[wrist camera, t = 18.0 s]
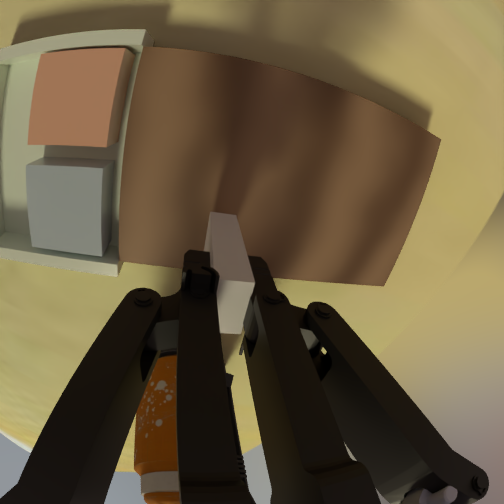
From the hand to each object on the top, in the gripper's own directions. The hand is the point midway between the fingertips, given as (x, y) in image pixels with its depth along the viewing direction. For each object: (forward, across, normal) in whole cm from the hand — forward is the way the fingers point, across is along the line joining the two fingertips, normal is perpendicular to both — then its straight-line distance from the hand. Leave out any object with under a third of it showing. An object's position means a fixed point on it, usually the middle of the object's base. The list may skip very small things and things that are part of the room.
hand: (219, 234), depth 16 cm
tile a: (+4, -10, +7) cm, 13 cm away
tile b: (+4, -11, 0) cm, 11 cm away
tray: (+4, -13, +3) cm, 14 cm away
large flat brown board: (+4, +5, +3) cm, 7 cm away
